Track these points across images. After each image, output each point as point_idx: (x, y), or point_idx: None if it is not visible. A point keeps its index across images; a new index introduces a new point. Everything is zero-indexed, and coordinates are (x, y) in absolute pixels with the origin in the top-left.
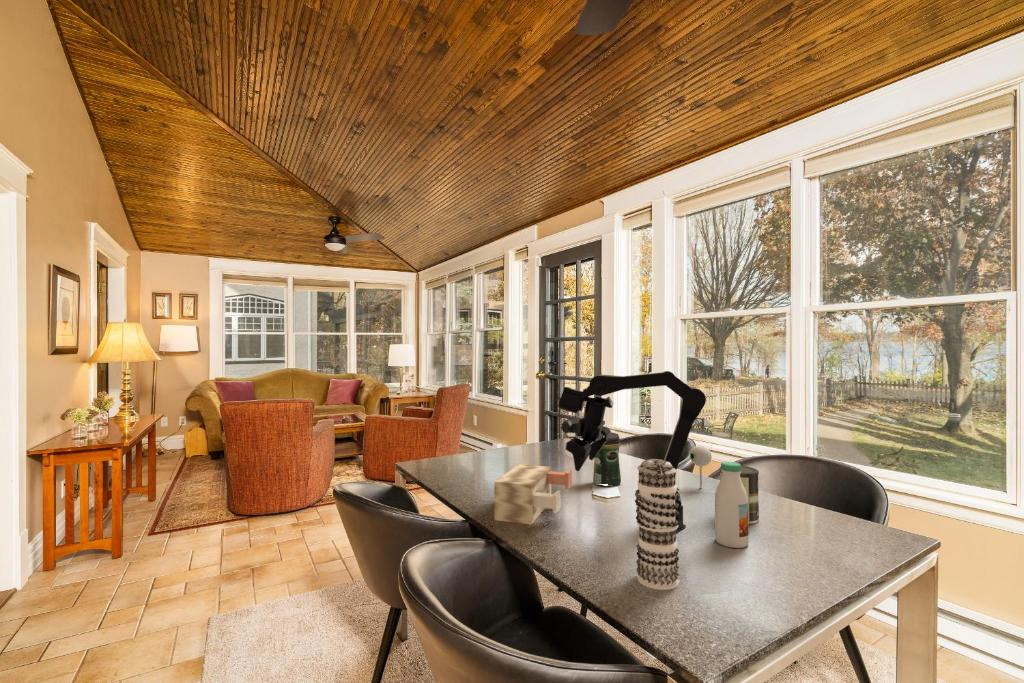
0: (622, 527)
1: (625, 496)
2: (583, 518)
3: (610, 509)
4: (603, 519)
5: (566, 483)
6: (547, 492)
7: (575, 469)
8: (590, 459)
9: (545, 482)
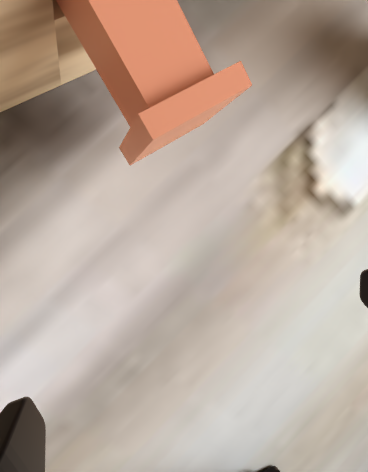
0: (130, 452)
1: (361, 222)
2: (82, 302)
3: (237, 286)
4: (139, 353)
5: (128, 147)
6: (72, 44)
7: (3, 413)
8: (363, 285)
9: (19, 11)
